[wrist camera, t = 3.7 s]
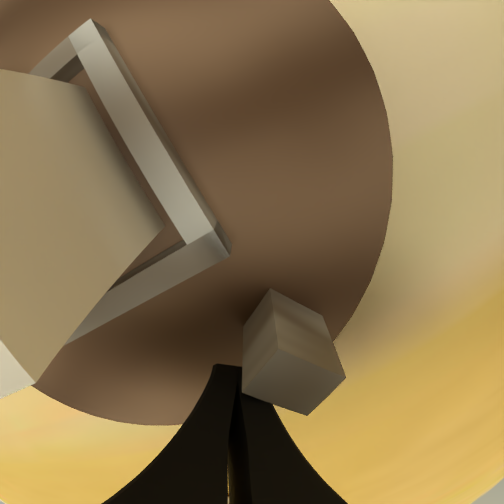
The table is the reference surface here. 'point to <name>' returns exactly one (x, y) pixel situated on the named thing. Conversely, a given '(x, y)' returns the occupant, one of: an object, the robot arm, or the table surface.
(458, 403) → the table surface
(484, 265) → the table surface
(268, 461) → the robot arm
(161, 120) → the turntable
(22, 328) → the beige block
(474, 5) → the table surface
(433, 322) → the table surface
